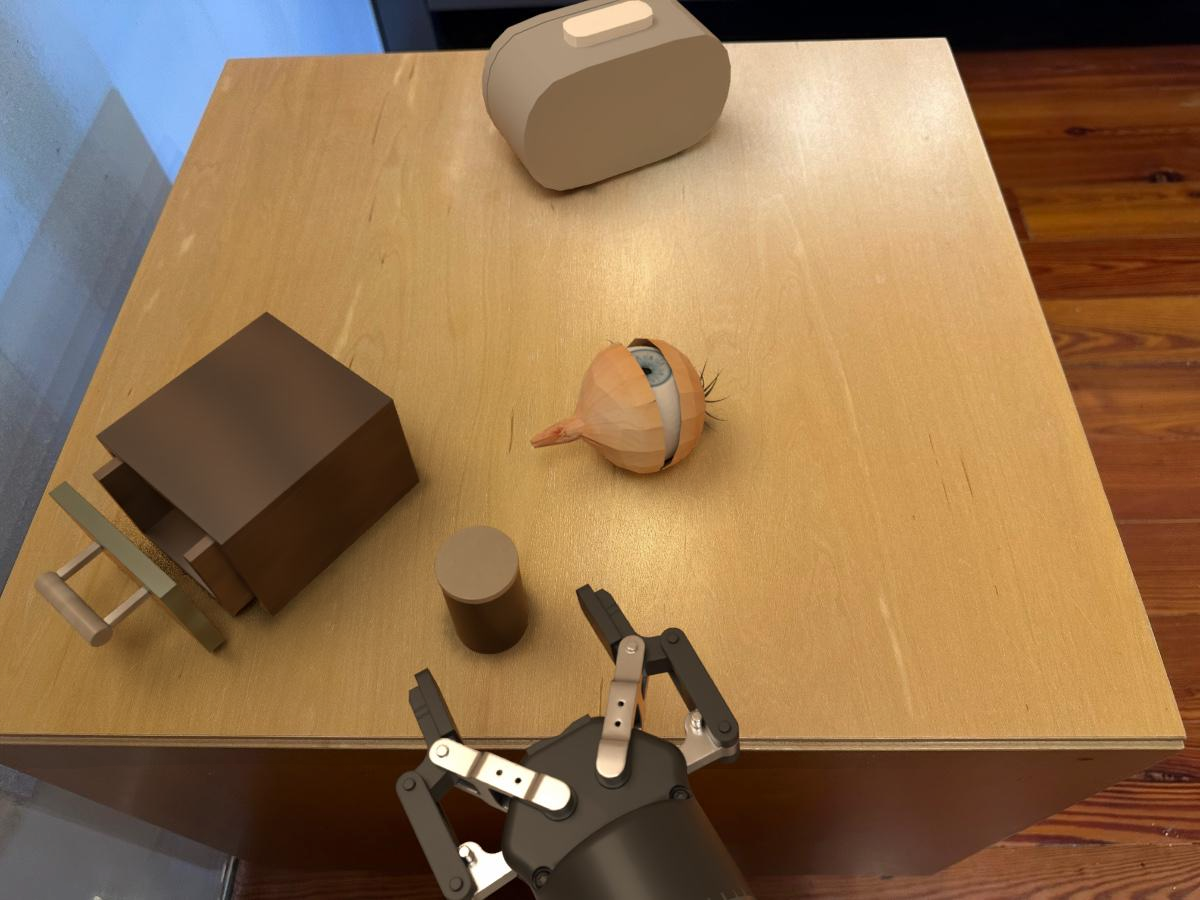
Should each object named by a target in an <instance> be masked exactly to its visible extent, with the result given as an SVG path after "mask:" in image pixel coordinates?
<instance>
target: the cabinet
mask: <svg viewBox="0 0 1200 900" xmlns="http://www.w3.org/2000/svg"><path fill="white" fill-rule="evenodd" d="M95 438H96V439H97V440H98V441H99V443H100V444H101V445H102V447H103V448H104V449H105V450H106V452H107V453H108V454H109V455H110V456H111V459H113V458H114V457H117V458H119V459H120V460H121V461H122V462H123V463H124V464H125V465H127V466H128V467H129V468H130V469H131V470H132V471H133V472H135V473H136V474H137V475H138V476H139V477H140V478H141V479H143V480H144V481H145V482H146V483H147V484H148V485H150V486H151V487H152V488H153V489H154V490H155V491H156V492H158V493H159V494H160V495H161V496H162V497H163V498H164V499H166V500H167V501H168V502H169V503H170V504H171V505H173V506H174V507H175V508H176V509H177V510H178V511H179V512H181V513H182V514H183V515H184V516H185V517H186V518H187V519H189V520H190V521H191V522H192V523H193V524H194V525H196V526H197V527H198V528H199V529H200V530H201V531H202V532H204V533H205V534H206V535H207V536H208V537H209V538H210V539H212V540H213V541H214V542H215V543H216V544H217V545H218V546H219V547H220V549H221V550H222V552H223V553H224V554H225V556H226V557H227V558H228V560H229V561H230V563H231V564H232V565H233V567H234V568H235V570H236V571H237V572H238V574H239V575H240V576H241V578H242V579H243V581H244V582H245V583H246V585H247V586H248V587H249V589H250V590H251V592H252V593H253V594H254V596H255V597H254V598H253V599H252V600H253V601H254V602H255V603H256V604H257V605H258V606H259V607H260V608H262V609H263V611H265V613H267V614H268V615H270V617H274V616H275V615H276V614H278V613H279V612H280V611H281V610H282V609H283V608H284V607H285V606H286V605H287V604H288V603H290V602H291V601H292V600H293V599H294V598H295V597H296V596H297V595H298V594H300V592H302V590H303V589H305V588H306V587H307V586H308V585H309V584H310V583H311V582H312V581H313V580H315V578H317V577H318V576H319V575H320V574H321V573H322V572H323V571H325V569H327V567H329V566H330V565H331V564H332V563H333V562H334V561H336V559H337V558H338V557H339V556H341V555H342V554H343V553H344V552H345V551H346V550H347V549H348V548H349V547H350V546H351V545H352V544H353V543H355V541H357V540H358V539H359V538H360V537H361V536H363V535H364V533H366V531H368V530H369V529H370V528H371V527H372V526H373V525H374V524H376V522H377V521H378V520H380V519H381V518H382V517H383V516H384V515H385V514H386V513H387V512H388V511H390V510H391V508H392V507H394V506H395V505H396V504H397V503H398V502H399V501H401V499H402V498H404V497H405V496H406V494H408V493H409V492H410V491H412V490H413V488H414V487H416V486H417V484H419V483H420V478H419V475H418V472H417V469H416V466H415V462H414V459H413V457H412V454H411V451H410V448H409V444H408V441H407V438H406V435H405V432H404V429H403V426H402V422H401V418H400V416H399V414H398V409H397V407H396V404H395V401H394V398H392V397H391V396H389V395H388V394H386V393H384V392H383V391H382V390H381V389H379V388H378V387H376V386H375V385H374V384H372V383H370V382H369V381H368V380H366V379H365V378H364V377H361V376H360V375H359V374H358V373H356V372H354V371H353V370H352V369H351V368H349V367H348V366H346V365H344V364H343V363H342V362H340V361H339V360H337V359H336V358H335V357H333V356H332V355H330V354H329V353H327V352H326V351H324V350H323V349H321V348H320V346H317V345H316V344H315V343H313V342H311V340H308V339H307V338H305V337H304V336H303V335H302V334H300V333H299V332H297V331H296V330H294V329H293V328H291V327H290V326H289V325H287V324H286V323H284V322H283V321H282V320H280V319H278V318H277V317H275V316H274V315H272V313H270V312H268V311H264V312H263V313H262V314H260V315H259V316H257V318H255V319H254V320H252V321H251V322H249V324H247V325H245V326H244V327H243V328H241V329H240V330H239V331H237V332H236V333H235V334H233V335H232V336H230V337H229V338H228V339H226V340H225V341H224V342H222V343H220V344H219V345H218V346H217V347H215V348H214V349H213V350H212V351H210V352H208V353H207V354H206V355H204V356H203V357H201V358H200V359H199V360H198V361H196V362H195V363H194V364H192V365H190V366H189V367H188V368H186V369H185V370H184V371H182V372H181V373H180V374H178V375H177V376H175V377H174V378H173V379H171V380H170V381H169V382H168V383H166V384H164V385H163V386H162V387H161V388H159V389H158V390H156V391H155V392H154V393H152V394H151V395H150V396H148V397H147V398H146V399H144V400H142V401H141V402H140V403H139V404H137V405H136V406H135V407H133V408H132V409H130V410H129V411H128V412H127V413H125V414H124V415H122V416H121V417H120V418H118V419H117V420H115V421H114V422H112V423H111V424H110V425H108V426H107V427H106V428H104V429H103V430H102V431H100V432H99V433H98V434H96V435H95Z"/></svg>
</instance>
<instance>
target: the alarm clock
mask: <svg viewBox="0 0 1200 900" xmlns="http://www.w3.org/2000/svg"><path fill="white" fill-rule="evenodd" d="M731 75H732V65H731V61H730V56H729V53H728V50H727V48H726V47H725V46H724V44H723V43H722V42H721V40H720V39H719V38H718V37H717V36H716V35H715V34H713V32H711V31H710V30H709V29H708V28H707V27H706V26H705V25H704V24H703V23H702V22H701V21H699V20H698V19H697V18H696V17H695V16H694V15H693V14H691V12H690V11H689V10H688V9H687V8H685V6H683V5H682V4H681V3H680V2H679V1H678V0H586V1H581V2H577V3H575V4H571V5H568V6H564V7H561V8H557V9H555V10H550V11H547V12H544V13H540V14H538V15H535V16H533V17H530V18H528V19H526V20H524V21H521V22H519V23H516V24H513V25H512V26H509V27H507V28H506V29H505V30H504V32H503V33H501V34H500V35H499V36H498V38H496V40H495V41H494V42H493V43H492V45H491V47H490V48H489V51H488V53H487V55H486V56H485V60H484V64H483V69H482V75H481V92H482V99H483V103H484V106H485V110H486V113H487V114H488V116H489V119H490V120H491V122H492V124H493V126H494V127H495V128H496V130H497V131H498V132H499V134H500V135H501V137H502V138H503V139H504V140H505V142H506V143H507V145H508V146H509V147H510V148H511V150H512V151H513V153H514V154H515V156H517V158H518V160H519V161H520V162H521V163H522V165H523V166H524V168H525V169H526V170H527V171H528V173H529V174H530V175H531V177H532V178H533V180H535V181H536V182H537V183H538V184H540V185H541V186H542V187H543V188H545V189H546V188H547V189H552V190H555V191H560V192H561V191H566V190H574V189H577V188H579V187H584V186H588V185H591V184H594V183H595V184H596V183H598V182H600V181H603V180H607V179H609V178H612V177H615V176H617V175H620V174H623V173H625V172H626V173H627V172H629V171H632V170H634V169H637V168H641V167H643V166H647V165H649V164H652V163H654V162H657V161H660V160H663V159H666V158H669V157H671V156H674V155H676V154H677V153H679V152H682V151H684V150H686V149H688V148H690V147H693V146H694V145H696V144H698V143H699V142H700V141H701V140H703V138H704V137H706V135H708V133H710V132H711V131H712V130H713V128H714V126H715V125H716V123H717V122H718V120H719V119H720V118H721V116H722V114H723V110H724V108H725V107H726V106H725V105H726V104H727V100H728V97H729V92H730V86H731V80H732V79H731V78H732V76H731Z"/></svg>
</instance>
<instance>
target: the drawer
mask: <svg viewBox="0 0 1200 900" xmlns="http://www.w3.org/2000/svg"><path fill="white" fill-rule="evenodd" d="M91 476H92V477H93V478H94V479H95V480H96V482H98V484H99V485H100V486H101V487H102V489H103V490H104V491H105V492H106V493H107V495H108V496H110V498H111V499H112V501H114V503H115V504H116V505H117V507H119V509H120V511H122V512H123V514H124V515H125V516H126V517H127V518H128V519H129V520H130V522H131V523H132V524H133V525H134V527H135V528H136V529H137V530H138V531H139V533H140V534H141V535H143V537H145V538H146V539H147V540H148V541H149V542H150V543H151V544H152V545H153V546H155V547H156V548H157V549H158V550H159V551H160V552H161V553H163V555H164V556H166V557H167V559H169V560H170V561H171V562H172V563H174V564H175V566H177V567H178V568H179V569H180V570H181V571H182V572H184V574H185V575H187V576H188V577H189V578H190V579H191V580H192V581H193V582H194V583H195V584H196V585H198V586H199V587H200V588H201V589H202V590H203V591H204V592H206V593H207V595H209V596H210V597H211V598H212V599H213V600H214V601H215V602H216V603H218V604H219V605H220V606H221V607H222V608H223V609H224V610H225V611H226V612H228V614H230V615H231V616H235V615H236V614H237V613H238V612H240V611H241V610H242V609H243V608H244V607H245V606H247V604H248V603H250V601H252V600H253V598H254V597H255V596H254V594H253V593H252V592H251V590H250V589H249V587H248V586H247V585H246V583H245V582H244V581H243V579H242V578H241V576H240V575H239V574H238V572H237V571H236V570H235V568H234V567H233V565H232V564H231V563H230V561H229V560H228V558H227V557H226V556H225V554H224V553H223V552H222V550H221V549H220V547H219V546H218V545H217V544H216V543H215V542H214V541H213V540H212V539H210V538H209V537H208V536H207V535H206V534H205V533H204V532H202V531H201V530H200V529H199V528H198V527H197V526H196V525H194V524H193V523H192V522H191V521H190V520H189V519H187V518H186V517H185V516H184V515H183V514H182V513H181V512H179V511H178V510H177V509H176V508H175V507H174V506H173V505H171V504H170V503H169V502H168V501H167V500H166V499H164V498H163V497H162V496H161V495H160V494H159V493H158V492H156V491H155V490H154V489H153V488H152V487H151V486H150V485H148V484H147V483H146V482H145V481H144V480H143V479H141V478H140V477H139V476H138V475H137V474H136V473H135V472H133V471H132V470H131V469H130V468H129V467H128V466H127V465H125V464H124V463H123V462H122V461H121V460H120V459H119V458H117V457H114V458H111V459H110V460H109V461H108V462H106V463H105V464H103V465H102V466H100V468H98V469H97V470H96V471H94V472H93V473H92V475H91ZM47 495H48V496H50V498H51V499H52V500H53V501H54V502H55V503H56V504H57V505H58V506H59V508H61V510H62V511H64V513H66V514H67V516H68V517H69V518H70V519H71V520H72V521H73V522H74V523H75V524H76V526H78V528H79V529H81V531H83V533H84V534H85V535H86V536H87V537H88V538H89V539H90V540H91V541H92V543H91V544H90V545H88V546H87V547H85V548H84V549H83V550H82V551H81V552H79V553H78V554H76V555H75V556H74V557H72V558H71V559H70V560H69V561H67V563H65V564H64V565H63V566H62V567H60V568H59V569H58V570H57V571H46V572H44V573H41V574H40V575H39V576H38V577H37V578H36V579H35V580H34V583H33V587H34V590H35V591H37V593H38V594H39V595H40V596H41V597H42V598H43V599H44V600H45V601H46V602H47V603H48V604H50V606H51V607H52V608H53V609H54V610H55V611H56V612H57V613H58V615H60V616H61V617H62V618H63V619H64V620H65V621H66V622H67V623H68V624H69V625H70V626H71V627H72V628H73V630H75V631H76V632H77V633H78V635H80V637H81V638H82V639H83V640H84V641H85V642H86V643H88V645H90V646H91V647H92V648H100V647H102V646H104V645H106V644H107V643H108V642H109V641H110V640H111V639H112V638H113V635H114V630H113V629H115V628H116V627H117V626H118V625H119V624H120V623H122V622H123V621H124V620H126V618H127V617H128V616H130V615H131V614H132V613H134V612H135V611H136V610H137V609H138V608H140V606H142V605H143V604H144V603H145V602H146V601H148V600H149V599H152V601H154V602H155V603H156V604H157V605H158V606H159V607H160V608H161V609H162V610H163V611H164V612H165V613H166V614H167V615H169V617H171V618H172V620H173V621H175V622H176V623H177V624H178V625H179V626H180V627H181V628H182V629H183V630H184V631H185V632H186V633H188V635H190V637H192V638H193V639H194V641H196V642H197V643H198V644H199V645H200V646H201V647H202V648H204V650H205V651H207V652H208V653H209V654H211V653H213V651H214V650H216V649H217V648H218V647H219V646H220V645H221V644H222V643H223V642H224V641H225V637H224V636H222V634H221V632H220V631H218V629H217V628H216V627H215V626H214V625H213V624H212V622H211V621H210V620H209V619H208V618H207V616H206V615H205V614H204V613H203V611H202V610H201V609H200V608H199V607H198V606H197V605H196V603H194V601H193V600H192V599H191V598H190V596H188V594H187V593H186V592H185V591H184V590H183V589H182V587H181V586H180V585H179V584H178V582H176V581H175V580H174V579H173V578H172V577H171V576H170V575H169V574H167V572H165V571H164V570H163V569H162V568H161V567H160V566H159V565H158V564H157V563H155V561H153V560H152V559H151V558H150V557H149V556H148V555H147V554H146V553H144V551H142V550H141V549H140V548H139V547H138V546H137V545H136V544H134V542H133V541H132V540H130V538H128V537H127V536H126V535H125V534H124V533H123V532H122V531H121V530H120V529H118V527H116V526H115V525H114V524H113V523H112V522H111V521H110V520H109V519H108V518H107V517H105V516H104V515H103V514H102V512H100V511H99V510H98V509H97V508H96V507H94V506H93V504H91V503H90V502H89V501H88V500H87V499H86V498H85V497H84V496H83V495H82V494H81V493H79V492H78V491H77V490H76V489H75V488H74V487H73V486H72V485H71V484H70V483H69V482H68V481H66V480H64V481H62V482H61V483H60V484H58V485H57V486H55V487H54V488H53V489H52V490H51V491H49V492H48V494H47ZM102 553H103V554H104V555H105V556H106V557H107V558H108V559H109V560H110V561H111V562H112V563H113V564H114V565H115V566H116V567H118V568H119V569H120V570H121V572H123V573H124V574H125V575H126V576H127V577H128V578H129V579H130V580H131V581H133V583H135V585H137V586H138V587H139V589H137V590H136V591H135V592H134V593H133V594H132V595H130V596H129V597H127V599H126V600H124V601H123V602H122V603H120V604H119V605H118V606H117V607H116V608H115V609H113V610H112V611H111V612H110V613H109V614H108V615H106V616H105V617H104V618H102V617H101V616H100V615H99V614H98V613H97V612H96V610H94V609H93V608H92V607H91V606H90V605H89V604H88V603H87V602H86V601H85V600H84V599H83V598H82V597H81V596H80V595H79V594H78V593H77V592H76V591H75V590H74V589H73V588H72V587H71V586H70V585H69V584H68V583H67V582H66V581H68V580H69V579H70V578H72V577H73V576H74V575H75V574H77V573H78V572H79V571H81V570H82V569H83V568H84V567H86V566H87V565H88V564H89V563H91V562H92V561H93V560H94V559H95V558H97V557H98V556H99V555H100V554H102Z"/></svg>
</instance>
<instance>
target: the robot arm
mask: <svg viewBox="0 0 1200 900" xmlns="http://www.w3.org/2000/svg"><path fill="white" fill-rule="evenodd" d="M574 591H575V594H576V597H577V601H578V604H579V607H580V609H581V611H582V614H583V615H584V618H585V619H586V620H587V622H588V624H589V626H590V627H591V629H592V630H593V632H594V633H595V635H596V637H597V638H598V640H599V642H600V643H601V645H602V646H603V648H604V650H605V651H606V653H607V655H608V657H609V658H610V660H611V661H612V663H613V665H614V666H615V668H614V673H613V677H612V680H611V681H610V684H609V689H608V695H607V696H608V697H607V703H606V707H605V708H606V709H605V714H604V715H597V716H592V717H591V716H590V714H589V713H587V714H585V715H583V716H581V717H580V718H577V719H575V720H574V721H572V723H570V724H569V725H568V726H567V727H566V728H565V729H564V730H562V732H561V733H559V734H558V735H554V736H551V737H547V738H543V739H540V740H538V741H537V742H535V743H533V744H531V745H530V746H528V747H526V748H525V749H524V750H525V752H526V754H525V755H524V756H522V758H521V759H520V761H519V763H516V762H513V761H510V760H509V759H506V758H504V757H501V756H499V755H497V754H494V753H492V752H489V751H479V750H476V749H475V748H472V747H469V746H467V745H466V744H465V742H464V740H463V737H462V735H461V733H460V730H459V729H458V726H457V723H456V722H455V719H454V717H453V715H452V713H451V710H450V709H449V706H448V704H447V701H446V699H445V697H444V694H443V693H442V691H441V689H440V687H439V684H438V682H437V681H436V679H435V677H434V675H433V674H432V673H431V671H430V669H429V667H425V668H424V669H422V670H419V672H417V673H415V674H413V675H414V679H415V681H416V684H417V686H415V687H413V688H411V689H409V690H408V704H409V705H410V708H411V710H412V712H413V715H414V718H415V720H416V722H417V725H418V728H419V730H420V732H421V734H422V737H423V739H424V742H425V744H426V754H425V757H424V759H423V760H422V762H421V763H420V764H419V765H418V766H416V768H415V769H414V770H408V771H406V772H404V773H402V774H401V775H400V776H399V777H398V778H397V779H396V780H397V781H396V782H395V783H396V784H395V793H396V794H397V797H398V799H399V801H400V803H401V806H402V808H403V810H404V811H405V814H406V816H407V819H408V821H409V823H410V825H411V827H412V829H413V831H414V834H415V835H416V838H417V840H418V843H419V845H420V847H421V849H422V851H423V853H424V855H425V858H426V860H427V862H428V865H429V866H430V869H431V871H432V872H433V875H434V877H435V879H436V882H437V884H438V886H439V888H440V891H441V892H442V895H443V896H444V897H445V899H446V900H486V898H488V897H489V896H490V895H492V894H493V893H495V892H496V891H498V890H499V889H500V888H502V887H503V886H505V885H506V884H507V883H510V882H511V881H512V880H513V879H515V878H518V879H520V880H521V881H522V882H524V883H525V884H526V885H527V886H528V887H529V888H530V889H531V891H532V893H533V895H534V897H535V900H758V898H757V897H756V894H755V893H754V892H753V890H752V888H751V887H750V885H749V884H748V882H747V879H745V877H744V875H743V873H742V872H741V870H740V868H739V867H738V865H737V863H736V861H734V859H733V857H732V855H731V853H730V852H729V851H728V848H727V847H726V845H725V843H724V842H723V841H722V839H721V837H720V836H719V834H718V832H717V830H716V829H715V828H714V825H713V824H712V823H711V821H710V819H709V818H708V816H707V815H706V813H705V811H704V810H703V808H702V806H701V805H700V803H699V801H698V799H697V798H696V796H695V794H694V793H693V791H692V788H691V786H690V782H689V778H690V777H689V775H690V774H692V773H693V772H696V771H698V770H699V769H701V768H703V767H705V766H707V765H709V764H711V763H713V762H715V761H718V762H720V763H722V764H732V763H734V762H736V761H737V760H738V759H739V757H740V755H741V739H740V725H739V722H738V720H737V718H736V717H735V715H734V713H733V712H732V710H731V708H730V707H729V705H728V703H727V702H726V700H725V699H724V697H723V695H722V694H721V691H720V690H719V689H718V686H717V685H716V683H715V682H714V680H713V678H712V677H711V675H710V673H709V672H708V670H707V668H706V667H705V665H704V663H703V662H702V660H701V658H700V656H699V655H698V653H697V652H696V650H695V648H694V646H693V645H692V644H691V641H690V640H689V639H688V637H687V635H686V633H685V632H684V631H683V630H682V629H681V628H679V627H673V626H672V627H668V628H666V629H664V630H663V631H662V632H661V634H660V635H654V636H643V635H641V634H640V633H637V632H636V630H635V629H634V628H633V626H632V624H631V623H630V622H629V620H628V618H627V617H626V615H625V614H624V612H623V611H622V609H621V608H620V606H619V604H618V603H617V601H616V600H615V598H614V597H613V595H612V593H610V592H609V591H607V590H605V589H604V588H600V589H598V590H597V591H594V590H593V588H592V586H591V585H590V584H589V583H586V584H584V585H582V586H580V587H579V588H577V589H575V590H574ZM662 674H668V676H669V678H670V680H671V681H672V684H673V685H674V687H675V689H676V691H677V692H678V694H679V696H680V697H681V700H682V701H683V703H684V704H685V706H686V708H687V710H688V712H689V713H687V714H686V716H685V717H684V720H683V728H684V735H685V739H684V742H683V743H682V744H680V745H679V746H677V745H676V744H674V743H673V742H671V741H669V740H666V739H663V738H662V737H659V736H657V735H655V734H652V733H649V732H647V731H645V722H646V713H647V712H646V705H647V704H646V703H647V698H648V690H649V689H648V688H649V683H650V676H656V675H662ZM453 787H454V788H457V789H458V790H461V791H463V792H465V793H468V794H470V795H472V796H474V797H477V798H478V799H481V800H482V801H484V803H486V804H488V805H489V806H491V807H492V808H495V809H498V810H500V811H502V812H504V813H506V815H505V822H504V825H503V831H502V836H501V842H500V851H499V852H496V853H488V852H486V851H484V850H483V849H482V847H481V846H480V845H479V844H478V843H477V842H474V841H467V842H464V843H462V844H461V843H460V841H459V839H458V837H457V835H456V832H455V829H454V828H453V826H452V825H451V822H450V820H449V818H448V816H447V814H446V812H445V809H444V808H443V806H442V803H441V802H440V801H441V800H442V799H443V798H444V797H445V796H446V795H447V793H448V792H449V791H451V789H452V788H453Z"/></svg>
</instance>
